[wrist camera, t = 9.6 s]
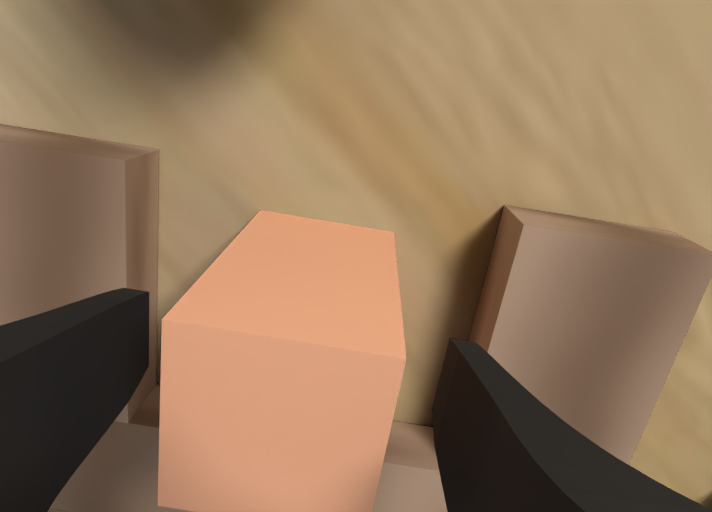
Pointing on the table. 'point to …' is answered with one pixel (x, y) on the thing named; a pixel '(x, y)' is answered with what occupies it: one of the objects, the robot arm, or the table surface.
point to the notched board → (489, 330)
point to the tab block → (283, 371)
